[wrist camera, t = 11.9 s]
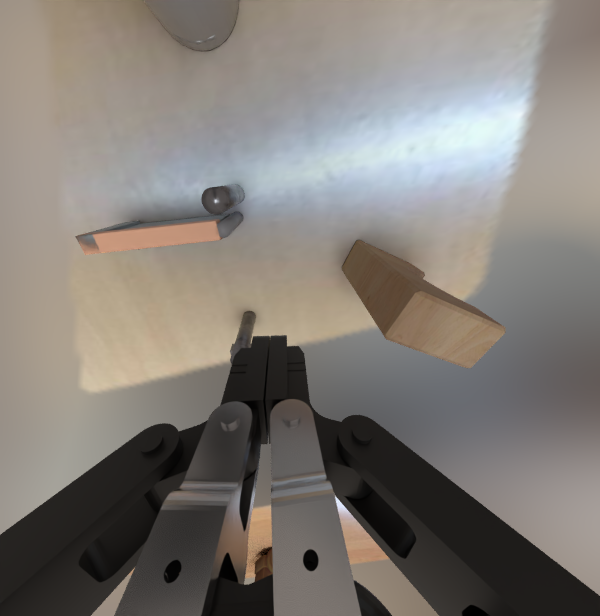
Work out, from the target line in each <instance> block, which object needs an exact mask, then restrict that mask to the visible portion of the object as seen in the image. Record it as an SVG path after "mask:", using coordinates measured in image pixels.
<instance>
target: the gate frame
mask: <svg viewBox="0 0 600 616" xmlns="http://www.w3.org/2000/svg"><path fill="white" fill-rule="evenodd" d="M244 197H245V193H244V190H243V189H242V187H240V186H239V185H227V186H220V187H212V188H208V189H206V190H205V191H204V192H203V194H202V204H203V206H204V208H205V209H206V210H207V211H208V212H209V213H211V214H216V215H217V214H221V213H223V212H225V211H226V210H228V209H230V208H232V207H233V206H235V205H237V204H239V203H241V202H242V201H243V200H244ZM255 318H256V315H255V313H254V312H252V311H247V312H245V313H244V315H243V318H242V322H241V325H240V328H239V332H238V335H237V339H236V342H235V344H232V347H231V350H230V353H231V359H230V361H231V363H232V362H233V359H234V356H235V355H236V353H237V352H238V351H239V350H240V349H241V348H251V338H252V333H253V328H254V323H255Z"/></svg>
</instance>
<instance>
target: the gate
mask: <svg viewBox="0 0 600 616" xmlns="http://www.w3.org/2000/svg"><path fill="white" fill-rule="evenodd" d="M242 221H243V216H242V214H241V213H240V212H234V213H233V214H231V215H230V214H225V215H216V216H206V217H197V218H188V219H179V220H170V221H160V222H151V223H142V224H140V222H139V221H132V222H125V223H121V224H118V225H114V226H111V227H107V228H104V229H100V230H96V231H93V232H89V233H86V234H82V235H78V236H75V237H76V238H77V240H78V242H79V244H80V246H81V248H82V250H83V251H84V253H85V255H88V254H97V253H106V252H115V251H124V250H133V249H142V248H151V247H161V246H170V245H179V244H188V243H197V242H206V241H215V240H221V239H222V238H225V237H228V236H229V235H230V234H231V233H232V231H233V230H234V229H235V228H236V227H237V226H238V225H239V224H240V223H241V222H242Z"/></svg>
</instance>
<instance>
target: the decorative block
mask: <svg viewBox="0 0 600 616" xmlns="http://www.w3.org/2000/svg"><path fill="white" fill-rule="evenodd" d="M342 270H343V272H344V274H345V275H346V277H347V279H348V280H349V282H350V283H351V285H352V286H353V288H354V289H355V291H356V293H357V294H358V296H359V297H360V299H361V301H362V302H363V304H364V305H365V307H366V308H367V310H368V312H369V313H370V315H371V316H372V318H373V319H374V321H375V323H376V324H377V326H378V327H379V329H380V330H381V332H382V333H383V335H384V337H385V338H386V339H387V340H390V341H393V342H396V343H398V344H401V345H404V346H406V347H409V348H412V349H415V350H417V351H420V352H423V353H426V354H429V355H431V356H434V357H437V358H440V359H442V360H445V361H448V362H451V363H454V364H457V365H459V366H462V367H465V368H471V367H472V366H473V365H474V364H475V363H476V362H477V361H478V360H479V359H480V358H481V357H482V356H483V355H484V354H485V353H486V352H487V351H488V350H489V349H490V348H491V347H492V346H493V345H494V344H495V343H496V342H497V341H498V340H499V339H500V338H501V337H502V335H504V333H505V327H504V326H502V325H501V324H499V323H498V322H496V321H495V320H493V319H492V318H490V317H489V316H487V315H486V314H484V313H483V312H482V311H480V310H479V309H477V308H476V307H474V306H472V305H470V304H467V303H465V302H463V301H461V300H459V299H457V298H455V297H454V296H452V295H450V294H448V293H446V292H444V291H443V290H441V289H439V288H437V287H435V286H434V285H432V284H430V283H429V282H427V281H425V280H423V277H424V276H425V274H424V272H422V271H421V270H419V269H418V268H416V267H415V266H413V265H412V264H410V263H408V262H406V261H403V260H401V259H399V258H397V257H395V256H393V255H391V254H388V253H386V252H384V251H382V250H380V249H378V248H375V247H373V246H371V245H369V244H367V243H365V242H363V241H360V240H358V241H356V242H355V244H354V246H353V248H352V250H351V252H350V254H349V255H348V257H347V259H346V261H345V263H344V265H343V267H342Z"/></svg>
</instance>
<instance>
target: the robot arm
mask: <svg viewBox="0 0 600 616" xmlns="http://www.w3.org/2000/svg"><path fill="white" fill-rule="evenodd" d="M143 1H144V2H145V3H146V5H147V6H148V7H149V9H150V10H151V11H152V12H153V14H154V15H155V16H156V17H157V19H158V20H159V21H160V22H161V24H162V25H163V26H164V28H165V29H166V30H167V31H168V32H169V33H170V34H171V35H172V36H173V37H174V38H175V39H176V40H177V41H179V42H180V43H181V44H183V45H184V46H186V47H189V48H191V49H194V50H199V51H206V50H211V49H214V48H216V47H218V46H220V45H221V44H222V43H223V42H224V41H225V40H226V39H227V38H228V36H229V35H230V33H231V32H232V29H233V27H234V25H235V22H236V18H237V14H238V6H239V0H143ZM268 435H269V444H271V475H272V476H271V477H272V488H271V515H272V555H273V574H271V575H269V576H267V577H265V578H262V579H260V580H258V581H256V582H254V583H252V584H249V585H244V581H245V574H246V566H247V556H248V535H249V528H250V521H251V515H252V508H253V501H254V495H255V489H256V483H257V476H258V470H259V458H260V447H261V444H267V443H268ZM334 493H335V495H336V497H337V498H338V499H339V500H340V502H341V503H342V504H343V505H344V506H345V507H346V508H347V510H348V511H349V512H350V513H351V514H352V515H353V517H354V518H355V519H356V520H357V521H358V522H359V523H360V525H361V526H362V527H363V528H364V529H365V530H366V532H367V533H368V534H369V535H370V536H371V537H372V538H373V540H374V541H375V542H376V543H377V544H378V545H379V547H380V548H381V549H382V550H383V551H384V552H385V554H386V555H387V556H388V557H389V558H390V559H391V560H392V562H393V563H394V564H395V565H396V566H397V567H398V568H399V570H400V571H401V572H402V573H403V574H404V575H405V576H406V578H407V579H408V580H409V581H410V582H411V584H412V585H413V586H414V587H415V588H416V589H417V590H418V592H419V593H420V594H421V595H422V596H423V597H424V599H425V600H426V601H427V602H428V603H429V604H430V605H431V607H432V608H433V609H434V610H435V611H436V612H437V614H438V615H439V616H600V596H599V595H598V594H596V593H595V592H594V591H592V590H591V589H590V588H589V587H587V586H586V585H585V584H584V583H582V582H581V581H580V580H578V579H577V578H576V577H575V576H573V575H572V574H571V573H569V572H568V571H567V570H566V569H564V568H563V567H562V566H560V565H559V564H558V563H557V562H555V561H554V560H553V559H551V558H550V557H549V556H547V555H546V554H545V553H544V552H542V551H541V550H540V549H539V548H537V547H536V546H535V545H533V544H532V543H531V542H529V541H528V540H527V539H526V538H524V537H523V536H522V535H520V534H519V533H518V532H517V531H515V530H514V529H513V528H511V527H510V526H509V525H508V524H506V523H505V522H504V521H502V520H501V519H500V518H499V517H497V516H496V515H495V514H493V513H492V512H491V511H490V510H488V509H487V508H486V507H484V506H483V505H482V504H481V503H479V502H478V501H477V500H475V499H474V498H473V497H471V496H470V495H469V494H468V493H466V492H465V491H464V490H462V489H461V488H460V487H459V486H457V485H456V484H455V483H453V482H452V481H451V480H450V479H448V478H447V477H446V476H444V475H443V474H442V473H441V472H439V471H438V470H437V469H435V468H434V467H433V466H432V465H430V464H429V463H428V462H426V461H425V460H424V459H422V458H421V457H420V456H419V455H417V454H416V453H415V452H413V451H412V450H411V449H410V448H408V447H407V446H405V445H404V444H403V443H402V442H401V441H399V440H398V439H397V438H395V437H394V436H393V435H392V434H390V433H389V432H388V431H386V430H385V429H384V428H383V427H381V426H380V425H378V424H377V423H376V422H375V421H373V420H372V419H370V418H368V417H365V416H362V415H352V416H349V417H347V418H345V419H344V420H343V421H342V422H339V421H335V420H331V419H328V418H325V417H323V416H321V415H319V414H318V413H317V412H316V411H315V410H314V409H313V408H312V406H311V404H310V400H309V392H308V384H307V375H306V366H305V358H304V353H303V351H302V350H301V349H300V347H299V346H287V335H282V336H271V337H270V336H253V339H252V344H251V348H241V349H240V350H239V351H238V352H237V353H236V355H235V356H234V359H233V362H232V367H231V370H230V374H229V377H228V381H227V384H226V388H225V391H224V395H223V399H222V402H221V405H220V406H219V407H218V408H217V409H215V410H214V411H213V412H212V414H211V415H210V417H209V419H208V420H207V421H206V422H204V423H202V424H200V425H197V426H194V427H192V428H189V429H185V430H182V431H179V432H178V430H177V429H176V427H174V426H173V425H171V424H157V425H154V426H151V427H149V428H147V429H145V430H143V431H142V432H140V433H139V434H138V435H136V436H135V437H134V438H132V439H131V440H129V441H128V442H127V443H125V444H124V445H123V446H122V447H120V448H119V449H118V450H116V451H114V452H113V453H112V454H110V455H109V456H108V457H106V458H105V459H103V460H102V461H101V462H99V463H98V464H97V465H95V466H94V467H93V468H91V469H90V470H89V471H87V472H86V473H84V474H83V475H81V476H80V477H79V478H78V479H76V480H75V481H73V482H72V483H71V484H69V485H68V486H66V487H65V488H64V489H62V490H61V491H60V492H58V493H57V494H55V495H54V496H53V497H51V498H50V499H49V500H47V501H46V502H44V503H43V504H42V505H40V506H39V507H38V508H36V509H35V510H34V511H33V512H31V513H30V514H28V515H27V516H25V517H24V518H23V519H21V520H20V521H18V522H17V523H16V524H14V525H13V526H12V527H10V528H9V529H7V530H6V531H5V532H3V533H2V534H1V535H0V616H91V615H92V613H93V612H94V611H95V610H96V609H97V608H98V607H99V606H100V605H101V604H102V602H103V601H104V600H105V599H106V598H107V597H108V596H109V595H110V594H111V593H112V592H113V590H114V589H115V588H116V587H117V586H118V585H119V584H120V583H121V582H122V580H124V578H125V577H126V576H127V575H128V574H129V573H130V572H131V571H132V570H133V569H134V567H135V566H136V567H135V569H134V571H133V574H132V576H131V578H130V581H129V583H128V585H127V587H126V590H125V592H124V594H123V597H122V599H121V601H120V603H119V606H118V608H117V611H116V613H115V615H114V616H392V615H391V614H390V612H389V611H388V610H387V609H386V607H385V606H384V605H383V604H382V603H381V602H380V601H379V600H378V599H377V597H375V596H374V595H373V594H372V593H371V592H370V591H369V590H368V589H366V588H365V587H364V586H362V585H361V584H359V583H358V582H357V581H354V580H353V576H352V572H351V567H350V563H349V558H348V554H347V549H346V545H345V540H344V536H343V531H342V527H341V522H340V518H339V514H338V509H337V505H336V500H335V496H334ZM178 573H179V574H178Z"/></svg>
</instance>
